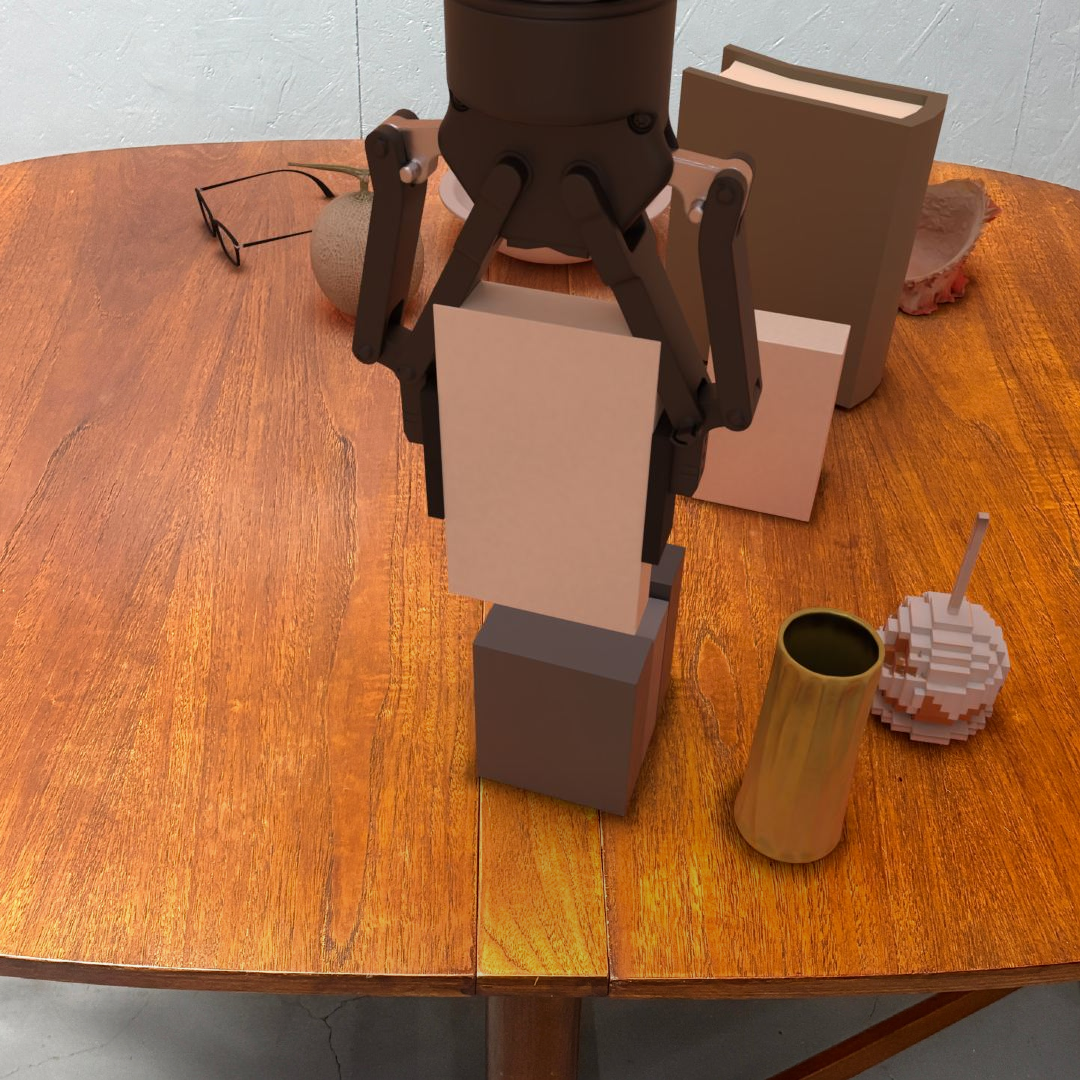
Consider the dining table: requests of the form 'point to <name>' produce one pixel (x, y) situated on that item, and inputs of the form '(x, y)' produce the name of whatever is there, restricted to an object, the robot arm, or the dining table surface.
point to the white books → (780, 420)
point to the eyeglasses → (216, 225)
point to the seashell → (945, 243)
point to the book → (812, 196)
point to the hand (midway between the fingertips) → (549, 521)
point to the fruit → (347, 243)
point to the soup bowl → (461, 208)
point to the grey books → (574, 696)
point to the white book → (546, 452)
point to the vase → (809, 734)
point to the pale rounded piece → (942, 660)
